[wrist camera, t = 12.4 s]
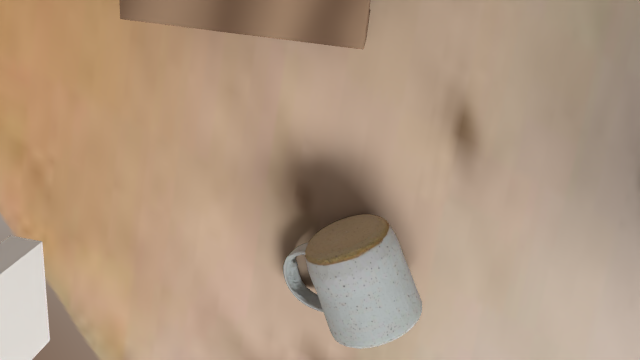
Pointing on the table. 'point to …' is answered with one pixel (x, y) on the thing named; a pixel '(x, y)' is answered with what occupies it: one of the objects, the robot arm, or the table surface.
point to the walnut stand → (262, 18)
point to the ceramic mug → (357, 281)
